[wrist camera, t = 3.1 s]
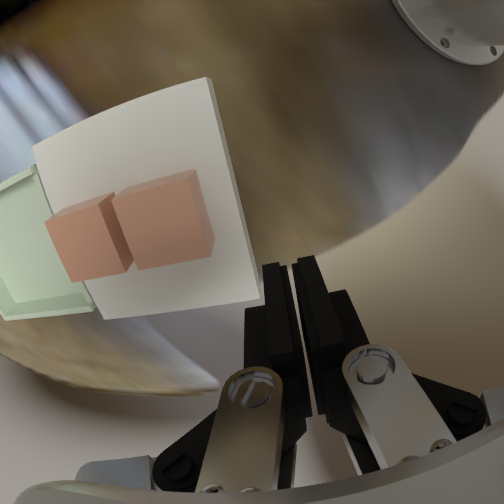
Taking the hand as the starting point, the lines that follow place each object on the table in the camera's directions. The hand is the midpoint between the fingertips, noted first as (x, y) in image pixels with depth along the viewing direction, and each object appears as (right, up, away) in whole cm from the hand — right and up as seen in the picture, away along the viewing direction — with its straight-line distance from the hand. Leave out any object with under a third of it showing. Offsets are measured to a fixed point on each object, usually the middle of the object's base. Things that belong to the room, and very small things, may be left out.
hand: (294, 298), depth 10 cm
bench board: (-9, +5, +12) cm, 16 cm away
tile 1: (-13, +3, +11) cm, 17 cm away
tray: (-23, +2, +14) cm, 27 cm away
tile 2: (-7, +4, +10) cm, 13 cm away
